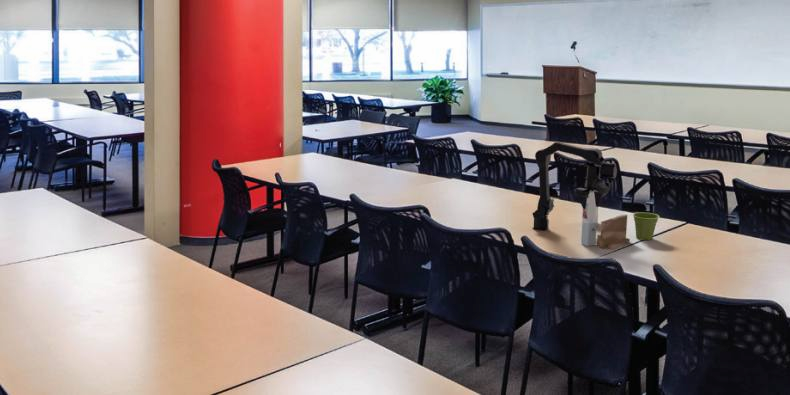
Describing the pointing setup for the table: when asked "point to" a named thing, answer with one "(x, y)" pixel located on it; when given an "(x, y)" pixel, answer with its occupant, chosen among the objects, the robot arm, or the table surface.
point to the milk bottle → (590, 209)
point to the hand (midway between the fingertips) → (590, 208)
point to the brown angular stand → (613, 232)
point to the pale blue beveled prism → (589, 233)
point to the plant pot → (645, 225)
